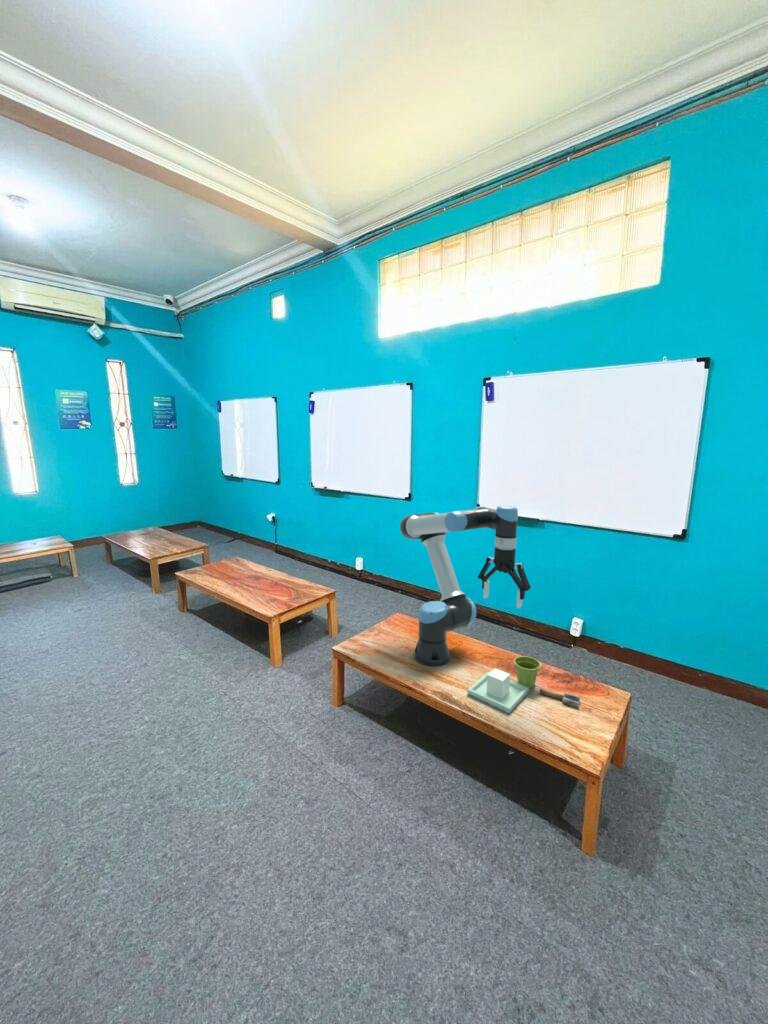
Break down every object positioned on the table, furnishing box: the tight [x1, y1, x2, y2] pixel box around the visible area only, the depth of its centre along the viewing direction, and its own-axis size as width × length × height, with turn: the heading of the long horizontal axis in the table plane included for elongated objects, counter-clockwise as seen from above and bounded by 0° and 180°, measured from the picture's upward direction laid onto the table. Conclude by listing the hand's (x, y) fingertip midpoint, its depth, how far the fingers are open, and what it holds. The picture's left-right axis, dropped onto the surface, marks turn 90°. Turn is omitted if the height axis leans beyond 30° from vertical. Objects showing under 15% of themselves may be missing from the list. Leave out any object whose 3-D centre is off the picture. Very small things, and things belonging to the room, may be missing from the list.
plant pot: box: [513, 655, 542, 689], centre depth 151 cm, size 9×9×9 cm
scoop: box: [538, 688, 580, 709], centre depth 143 cm, size 13×4×2 cm, turn 58°
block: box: [487, 667, 511, 699], centre depth 145 cm, size 6×6×7 cm
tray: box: [467, 671, 530, 715], centre depth 146 cm, size 16×16×2 cm
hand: (502, 602), depth 151 cm, fingers open, 13 cm apart
